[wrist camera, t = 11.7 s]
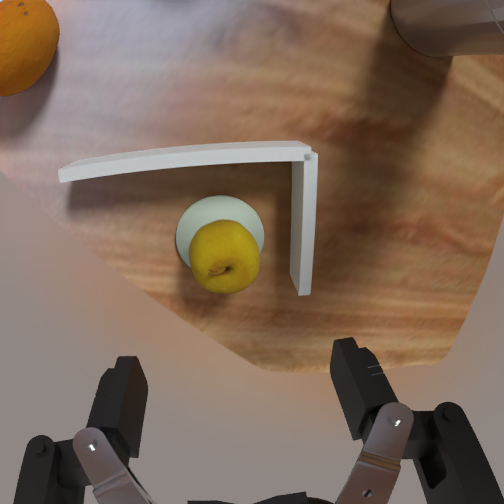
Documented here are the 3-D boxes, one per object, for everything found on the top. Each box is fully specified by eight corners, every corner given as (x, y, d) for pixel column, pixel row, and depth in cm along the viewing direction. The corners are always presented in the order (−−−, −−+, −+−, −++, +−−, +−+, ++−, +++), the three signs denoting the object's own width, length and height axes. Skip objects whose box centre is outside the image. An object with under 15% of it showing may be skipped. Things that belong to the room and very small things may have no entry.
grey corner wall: (304, 140, 30) (318, 147, 26) (299, 272, 36) (310, 294, 32) (77, 160, 28) (57, 169, 24) (103, 286, 34) (92, 308, 30)
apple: (180, 223, 31) (171, 261, 24) (239, 198, 31) (248, 229, 24) (206, 274, 34) (206, 321, 27) (262, 252, 34) (276, 294, 27)
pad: (262, 192, 31) (263, 193, 31) (263, 271, 35) (264, 274, 35) (171, 198, 31) (170, 200, 30) (182, 277, 35) (181, 280, 34)
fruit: (2, 111, 24) (-43, 120, 16) (-9, 33, 19) (-52, 27, 12) (79, 70, 24) (40, 64, 16) (66, -12, 19) (30, -35, 12)
